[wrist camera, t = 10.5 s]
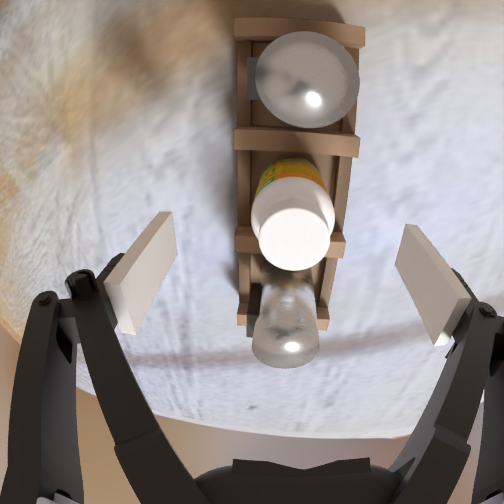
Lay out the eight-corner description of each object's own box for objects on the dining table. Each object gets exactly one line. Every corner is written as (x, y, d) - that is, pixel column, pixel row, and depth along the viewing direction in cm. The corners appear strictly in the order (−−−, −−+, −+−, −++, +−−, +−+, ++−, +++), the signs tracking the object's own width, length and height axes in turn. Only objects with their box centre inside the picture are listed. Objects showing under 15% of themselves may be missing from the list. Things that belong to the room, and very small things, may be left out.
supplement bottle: (268, 146, 23) (258, 182, 15) (331, 165, 23) (357, 211, 15) (252, 205, 26) (235, 268, 17) (311, 221, 26) (322, 290, 18)
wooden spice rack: (242, 299, 32) (237, 325, 29) (241, 29, 19) (234, 18, 15) (323, 304, 32) (327, 330, 28) (352, 36, 18) (365, 27, 15)
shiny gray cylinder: (258, 112, 21) (241, 125, 13) (259, 55, 19) (242, 29, 10) (326, 116, 21) (356, 133, 12) (328, 59, 19) (360, 38, 10)
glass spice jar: (255, 287, 30) (243, 365, 22) (256, 246, 28) (243, 322, 19) (308, 290, 30) (313, 369, 21) (314, 250, 27) (324, 326, 19)
